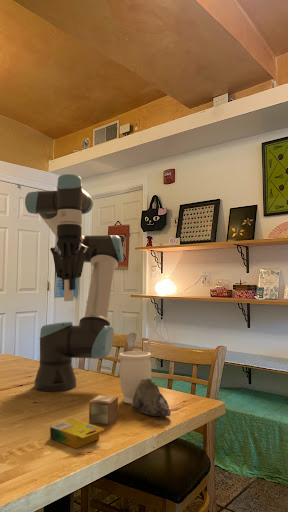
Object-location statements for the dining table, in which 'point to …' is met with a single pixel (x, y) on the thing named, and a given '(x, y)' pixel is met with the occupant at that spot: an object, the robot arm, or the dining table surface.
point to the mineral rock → (150, 399)
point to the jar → (133, 372)
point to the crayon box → (75, 433)
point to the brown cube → (103, 410)
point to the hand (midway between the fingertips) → (68, 300)
